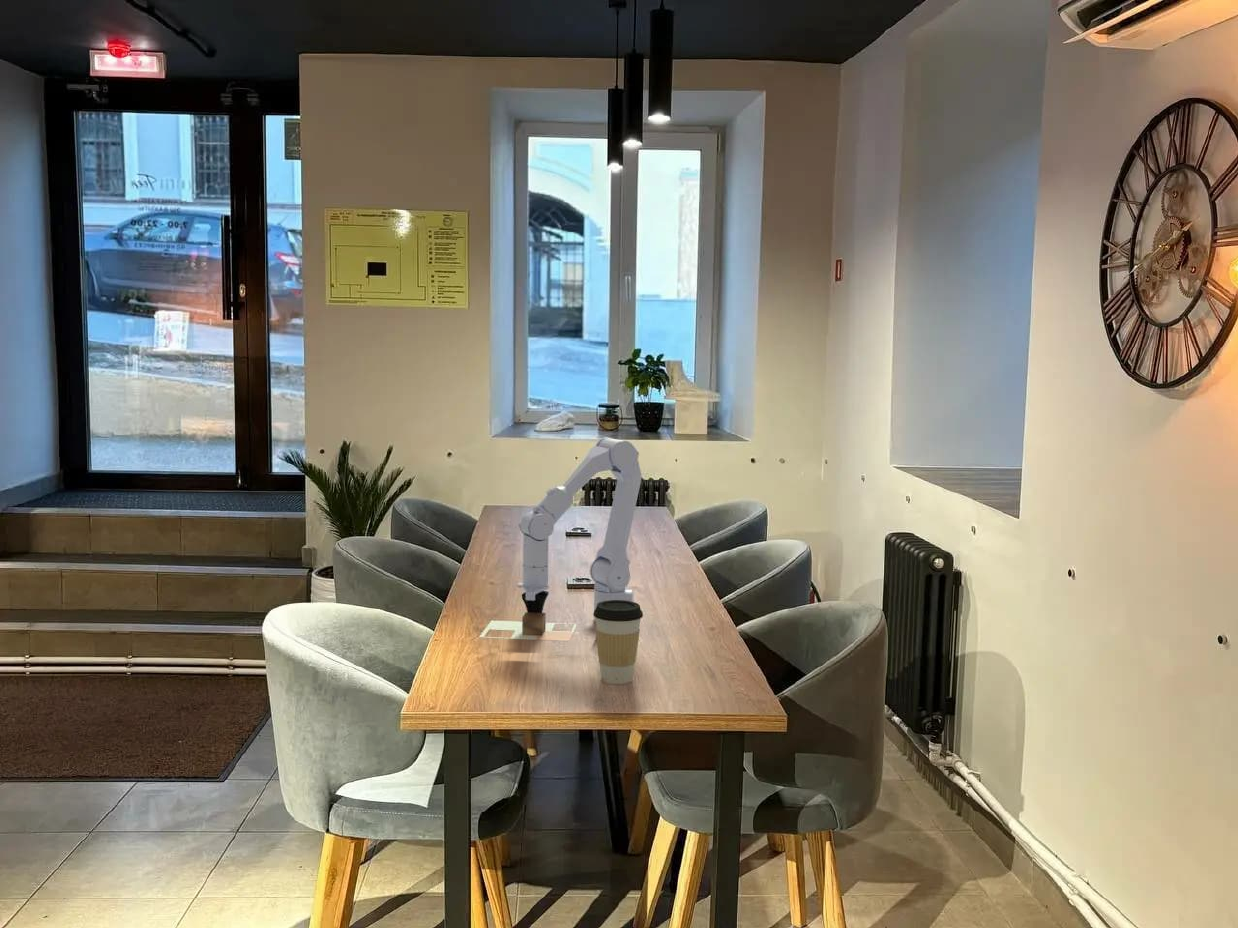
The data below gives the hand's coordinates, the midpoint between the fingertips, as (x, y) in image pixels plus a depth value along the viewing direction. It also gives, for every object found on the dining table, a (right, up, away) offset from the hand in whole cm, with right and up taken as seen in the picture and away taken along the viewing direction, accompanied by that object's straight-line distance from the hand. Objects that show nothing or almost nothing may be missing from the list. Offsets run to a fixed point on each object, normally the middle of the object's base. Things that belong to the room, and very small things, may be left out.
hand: (534, 624), depth 240 cm
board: (-1, -3, -2) cm, 3 cm away
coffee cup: (+19, -7, -30) cm, 36 cm away
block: (0, -1, -4) cm, 4 cm away
